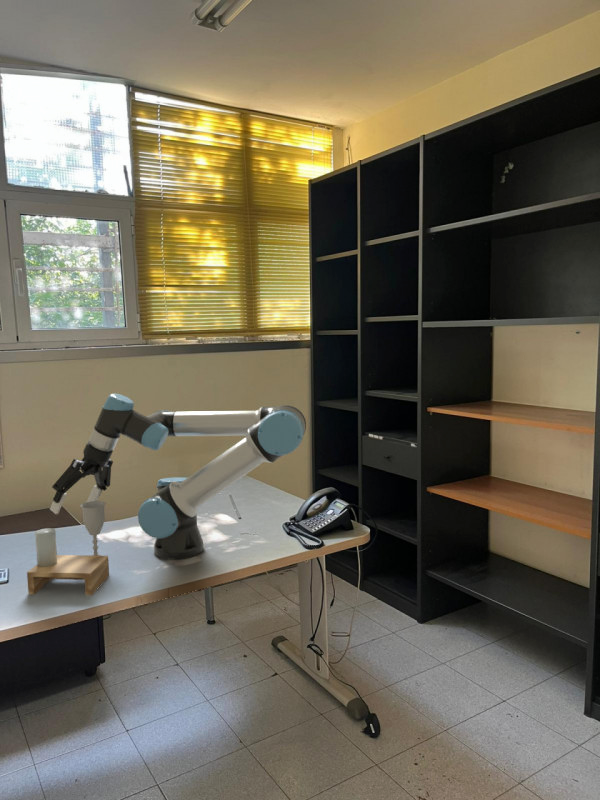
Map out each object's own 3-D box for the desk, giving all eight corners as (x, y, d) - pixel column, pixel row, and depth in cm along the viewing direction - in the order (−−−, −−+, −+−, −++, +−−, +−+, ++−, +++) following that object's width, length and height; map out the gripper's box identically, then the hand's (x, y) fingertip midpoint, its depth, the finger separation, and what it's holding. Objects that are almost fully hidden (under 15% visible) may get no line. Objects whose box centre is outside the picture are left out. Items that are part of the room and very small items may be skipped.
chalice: (78, 566, 173) (74, 506, 171) (94, 557, 180) (90, 500, 178) (98, 569, 171) (95, 509, 169) (113, 560, 177) (110, 502, 175)
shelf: (109, 576, 166) (108, 555, 165) (91, 595, 154) (90, 573, 153) (50, 575, 167) (49, 554, 166) (28, 594, 155) (26, 572, 154)
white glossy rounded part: (60, 559, 162) (58, 528, 161) (51, 567, 157) (49, 534, 156) (43, 559, 163) (41, 528, 162) (33, 566, 158) (31, 534, 157)
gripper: (121, 438, 182) (94, 497, 185) (58, 439, 159) (28, 506, 162) (138, 450, 179) (110, 510, 182) (76, 452, 156) (46, 521, 159)
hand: (72, 509), depth 172 cm, fingers open, 13 cm apart
